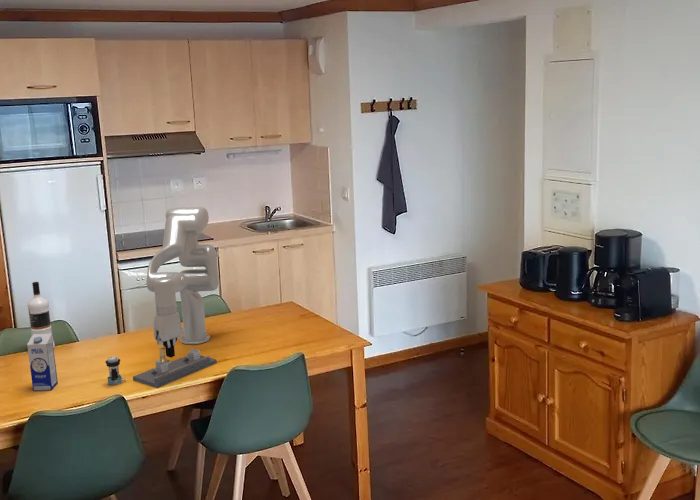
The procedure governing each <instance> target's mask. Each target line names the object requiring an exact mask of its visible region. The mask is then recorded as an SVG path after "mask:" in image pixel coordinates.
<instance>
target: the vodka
mask: <svg viewBox="0 0 700 500" xmlns="http://www.w3.org/2000/svg"><path fill="white" fill-rule="evenodd" d="M31 285H32V292H33V298H31V299H30V300H29V301H28V302H27V305H26V306H27V311H28V316H29V317H28V318H29V324H30V333H31V334H30V335H31V337H32V336H33V334H52V339H53V347H54V348H55V347H56V345H55V341H54V338H53V332H52V331H53V330H52V325H51V324H52V323H51V316H50V304H49V303H50V302H49V301H48V299H47V298H44V297H42V296H41V292H40V291H41V290H40V283H39V281H33V282H32V283H31Z"/></svg>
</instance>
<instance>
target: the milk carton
mask: <svg viewBox="0 0 700 500" xmlns="http://www.w3.org/2000/svg"><path fill="white" fill-rule="evenodd" d="M52 336H53V333H52V334H33V336H32V335H31V337H30V338H29V340H28V342H27V344H26V346H27V352H28V353H27V354H28V361H29V368H30V375H31V381H32V382H31V383H32V384H31V385H32V392H43V391H44V392H45V391H53V390H54V388H55V387H57V385H58V384H59V382H58V373H57V363H56V357H55V347H53V341H54V338H53V339H52Z"/></svg>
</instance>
